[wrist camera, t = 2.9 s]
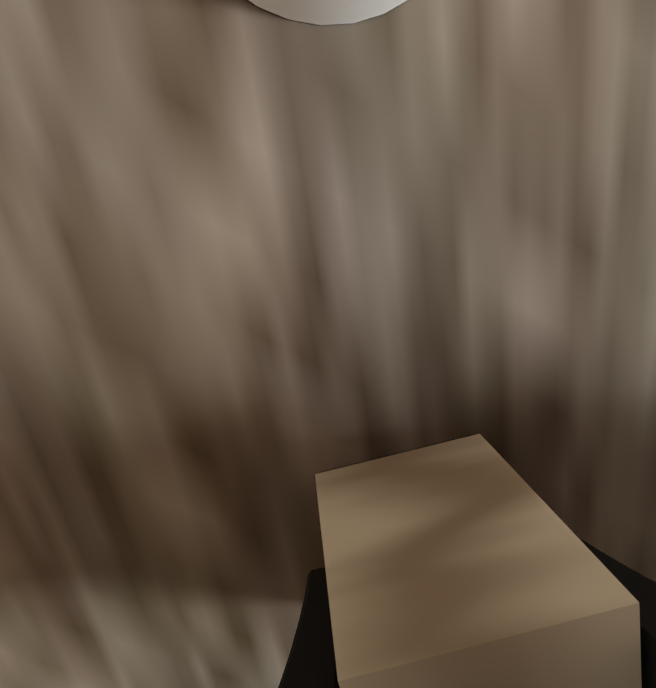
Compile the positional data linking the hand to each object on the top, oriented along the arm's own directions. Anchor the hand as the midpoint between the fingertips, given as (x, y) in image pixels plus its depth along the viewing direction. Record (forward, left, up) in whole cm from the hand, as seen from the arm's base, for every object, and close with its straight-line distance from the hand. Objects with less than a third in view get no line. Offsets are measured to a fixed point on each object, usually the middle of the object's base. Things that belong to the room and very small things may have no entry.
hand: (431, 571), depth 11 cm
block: (0, 0, -2) cm, 2 cm away
